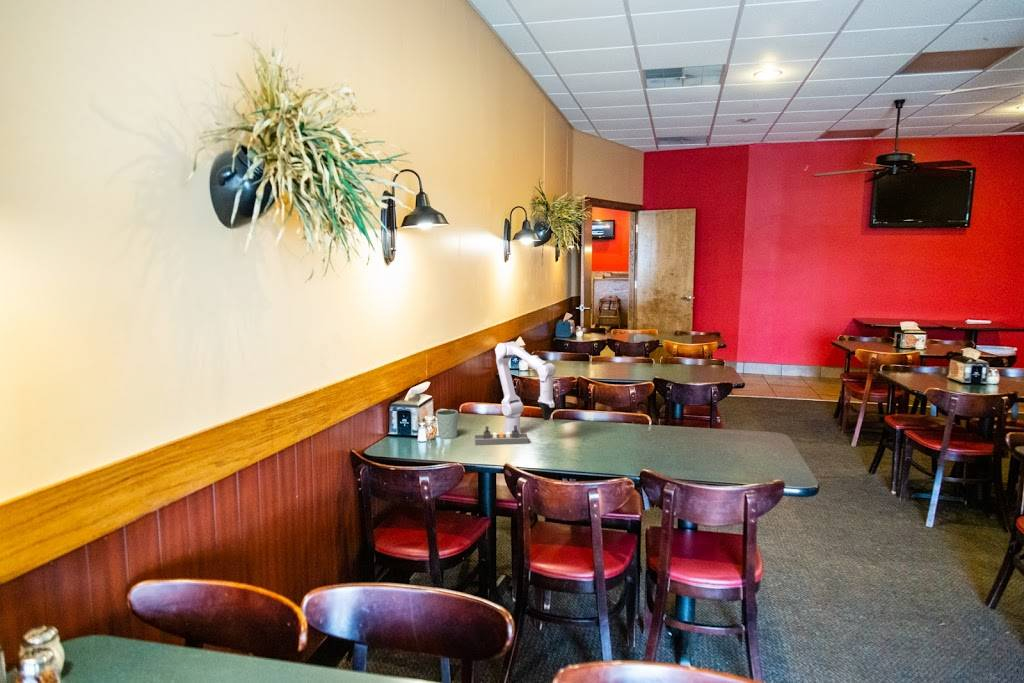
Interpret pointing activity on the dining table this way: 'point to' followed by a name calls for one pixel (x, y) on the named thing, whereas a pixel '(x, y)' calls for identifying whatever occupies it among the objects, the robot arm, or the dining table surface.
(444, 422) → the gray cup
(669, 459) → the dining table surface
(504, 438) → the strip
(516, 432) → the cord plug
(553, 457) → the dining table surface
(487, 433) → the cord plug
